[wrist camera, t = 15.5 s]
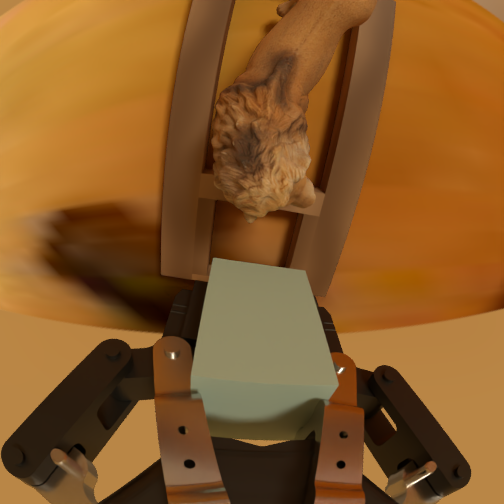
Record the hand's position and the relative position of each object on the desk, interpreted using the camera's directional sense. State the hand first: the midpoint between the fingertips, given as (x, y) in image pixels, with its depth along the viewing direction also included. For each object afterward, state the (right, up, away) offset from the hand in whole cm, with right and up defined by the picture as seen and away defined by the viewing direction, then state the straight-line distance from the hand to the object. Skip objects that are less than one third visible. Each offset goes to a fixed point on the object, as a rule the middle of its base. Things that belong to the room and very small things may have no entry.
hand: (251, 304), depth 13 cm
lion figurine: (+3, +13, +1) cm, 14 cm away
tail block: (0, 0, 0) cm, 0 cm away
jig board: (+1, +10, +3) cm, 11 cm away
